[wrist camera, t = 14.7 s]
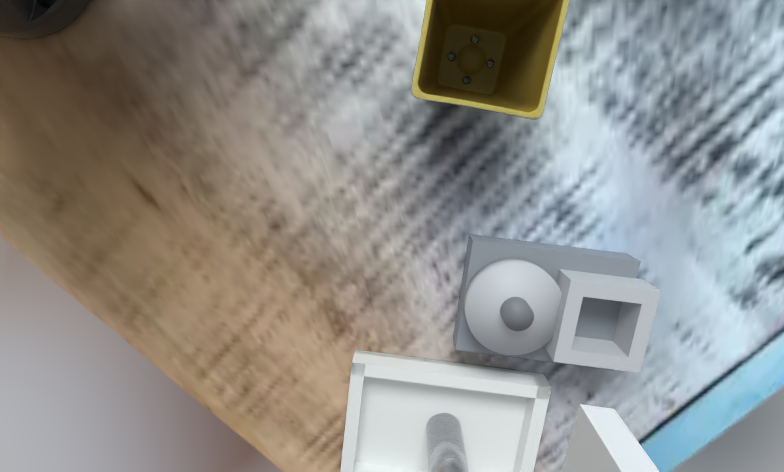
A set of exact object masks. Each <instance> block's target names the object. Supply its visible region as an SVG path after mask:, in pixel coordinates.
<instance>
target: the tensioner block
mask: <svg viewBox="0 0 784 472" xmlns="http://www.w3.org/2000/svg"><path fill="white" fill-rule="evenodd" d="M639 266H640V261H639V260H637V259H635V258H633V257H632V256H630V255H628V254H624V253H616V252H608V251H600V250H592V249H584V248H576V247H568V246H559V245H551V244H543V243H535V242H527V241H519V240H511V239H503V238H495V237H487V236H479V235H471V234H469V241H468V247H467V253H466V259H465V266H464V272H463V278H462V285H461V291H460V297H459V303H458V310H457V316H456V322H455V329H454V335H453V340H454V345H455V350H461V351H469V352H477V353H484V354H492V355H500V356H508V357H515V358H523V359H531V360H539V361H547V362H554V363H562V364H570V365H578V366H586V367H593V368H601V369H609V370H621V371H629V372H637V373H640V370H641V366H642V363H643V359H644V355H645V351H646V347H647V343H648V340H649V336H650V332H651V328H652V324H653V321H654V317H655V313H656V309H657V305H658V302H659V298H660V294H661V291H660V290H658V289H657V288H655V287H653V286H652V285H650V284H649V283H647V282H646V281H644V280H642V279H636V278H637V274H638V270H639Z"/></svg>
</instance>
